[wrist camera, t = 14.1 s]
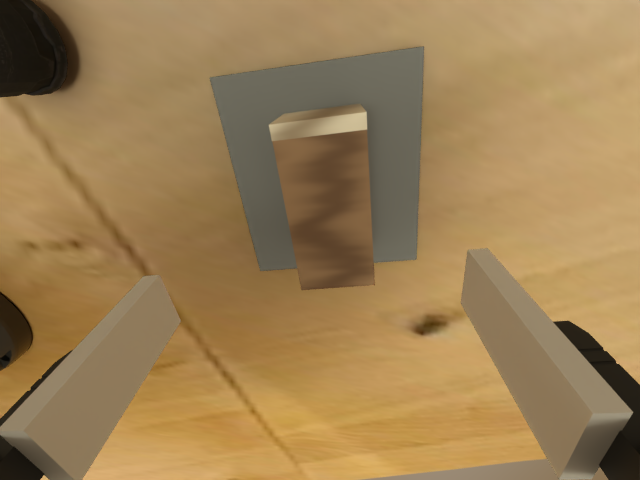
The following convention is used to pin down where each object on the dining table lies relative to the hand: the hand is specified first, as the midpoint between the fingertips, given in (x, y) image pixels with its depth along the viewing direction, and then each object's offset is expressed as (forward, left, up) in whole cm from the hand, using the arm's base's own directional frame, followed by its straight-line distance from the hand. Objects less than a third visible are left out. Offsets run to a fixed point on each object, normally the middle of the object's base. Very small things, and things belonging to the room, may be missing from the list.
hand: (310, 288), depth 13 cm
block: (+1, -7, -12) cm, 14 cm away
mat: (0, 0, -16) cm, 16 cm away
